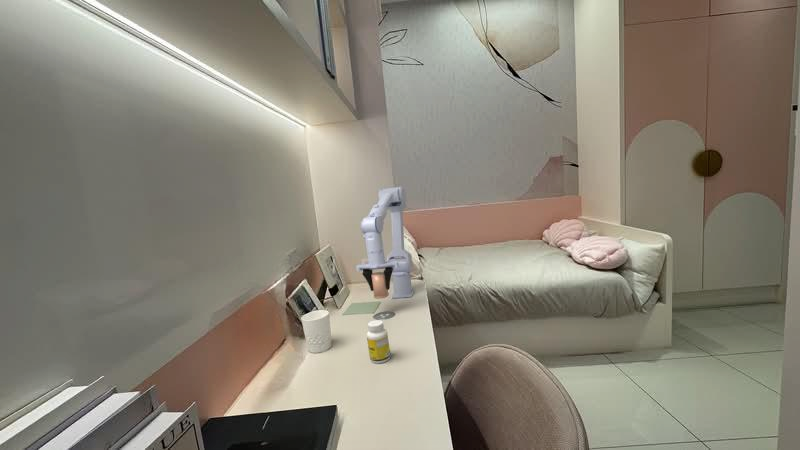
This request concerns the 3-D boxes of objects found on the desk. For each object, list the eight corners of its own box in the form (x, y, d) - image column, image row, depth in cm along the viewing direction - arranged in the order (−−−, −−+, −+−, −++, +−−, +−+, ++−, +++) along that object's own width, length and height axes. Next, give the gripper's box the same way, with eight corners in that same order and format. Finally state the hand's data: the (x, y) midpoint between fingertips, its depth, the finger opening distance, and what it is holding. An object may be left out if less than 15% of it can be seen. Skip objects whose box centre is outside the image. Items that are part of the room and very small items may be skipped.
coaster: (375, 313, 127) (375, 311, 127) (397, 311, 126) (397, 310, 126) (370, 321, 119) (370, 320, 119) (393, 320, 118) (393, 319, 118)
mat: (351, 303, 140) (351, 303, 140) (380, 301, 138) (380, 301, 138) (342, 315, 128) (342, 314, 128) (373, 313, 126) (373, 312, 126)
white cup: (336, 340, 106) (332, 309, 105) (329, 353, 98) (323, 319, 97) (312, 342, 107) (307, 311, 106) (302, 355, 99) (296, 321, 98)
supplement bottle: (367, 357, 93) (362, 322, 92) (386, 351, 94) (382, 317, 93) (373, 366, 88) (368, 328, 87) (393, 360, 89) (388, 323, 88)
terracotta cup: (375, 294, 125) (372, 272, 124) (390, 293, 124) (387, 271, 123) (372, 299, 120) (369, 276, 119) (387, 298, 119) (384, 275, 118)
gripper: (351, 255, 117) (357, 294, 119) (393, 251, 115) (399, 291, 116) (357, 251, 124) (362, 288, 126) (397, 247, 122) (402, 285, 123)
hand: (380, 289), depth 122 cm, fingers closed on terracotta cup, 5 cm apart
